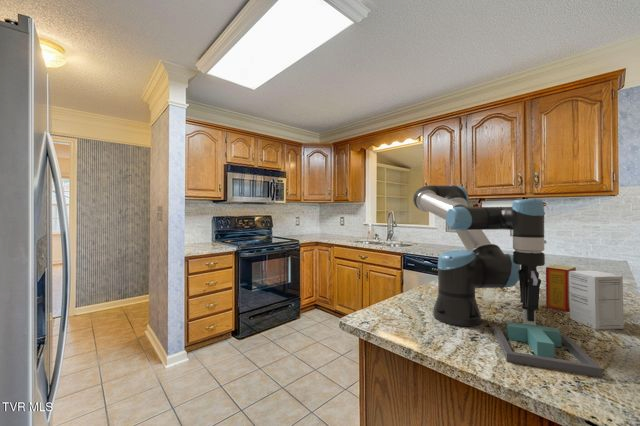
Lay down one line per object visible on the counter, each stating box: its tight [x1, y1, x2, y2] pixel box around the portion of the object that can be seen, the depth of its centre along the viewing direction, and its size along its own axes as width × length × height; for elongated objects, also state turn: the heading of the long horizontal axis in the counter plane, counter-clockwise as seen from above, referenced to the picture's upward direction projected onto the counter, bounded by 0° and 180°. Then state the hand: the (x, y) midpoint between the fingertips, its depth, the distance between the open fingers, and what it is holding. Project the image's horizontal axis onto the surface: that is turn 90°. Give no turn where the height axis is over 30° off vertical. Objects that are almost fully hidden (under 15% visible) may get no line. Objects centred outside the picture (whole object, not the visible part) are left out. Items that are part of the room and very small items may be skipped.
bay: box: [493, 325, 603, 379], centre depth 74 cm, size 18×18×2 cm
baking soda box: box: [545, 264, 577, 313], centre depth 109 cm, size 10×6×16 cm
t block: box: [506, 321, 562, 359], centre depth 76 cm, size 12×12×4 cm
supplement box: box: [569, 270, 625, 331], centre depth 92 cm, size 10×9×17 cm
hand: (529, 330), depth 83 cm, fingers closed
